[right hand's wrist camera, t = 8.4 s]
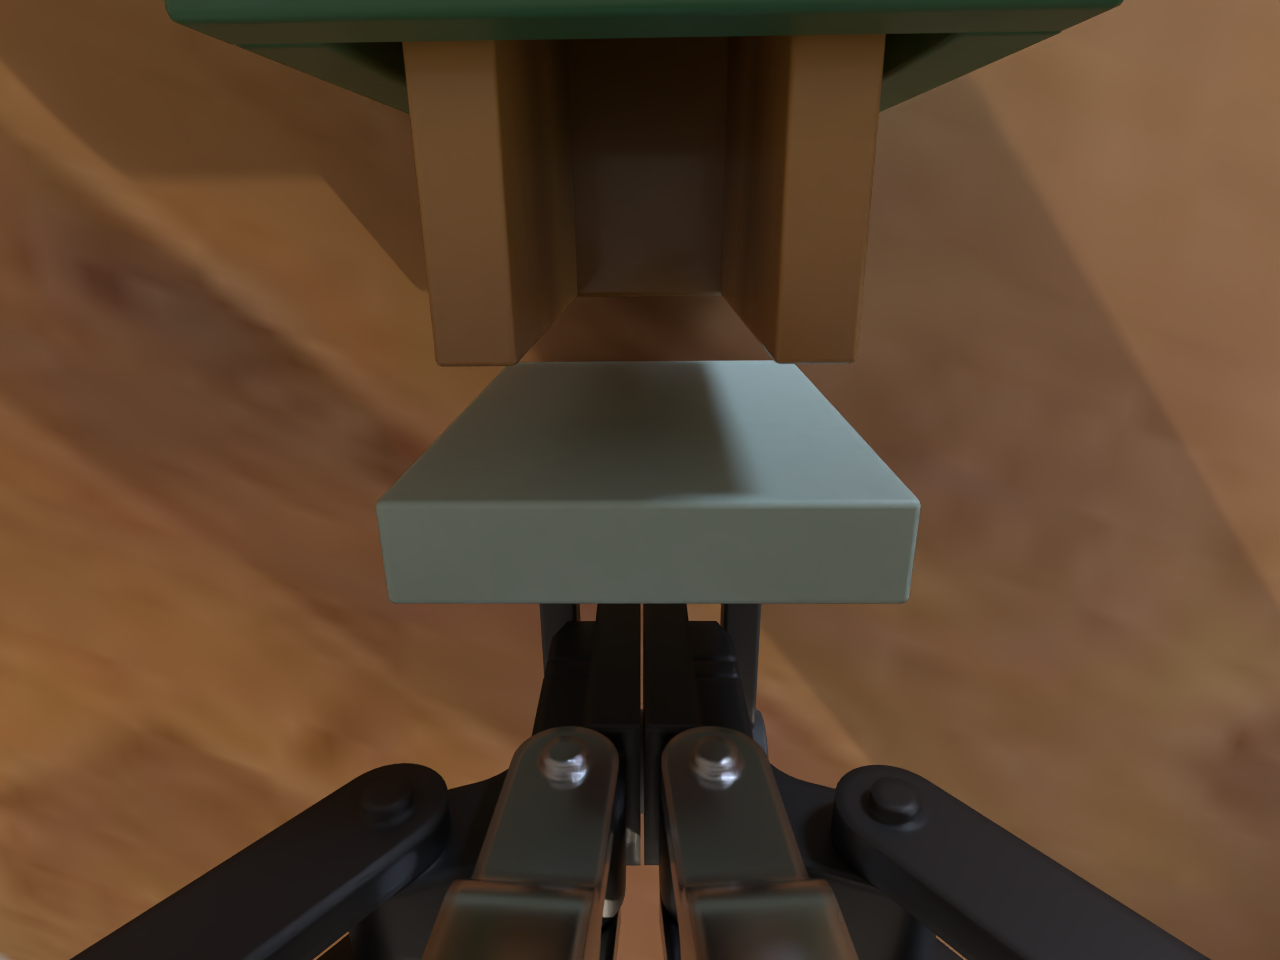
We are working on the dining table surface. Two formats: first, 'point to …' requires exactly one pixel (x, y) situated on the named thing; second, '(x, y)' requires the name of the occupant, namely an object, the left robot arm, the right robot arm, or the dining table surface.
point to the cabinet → (626, 30)
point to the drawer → (648, 390)
